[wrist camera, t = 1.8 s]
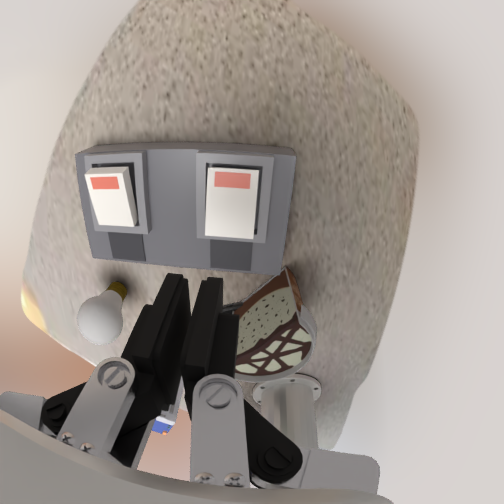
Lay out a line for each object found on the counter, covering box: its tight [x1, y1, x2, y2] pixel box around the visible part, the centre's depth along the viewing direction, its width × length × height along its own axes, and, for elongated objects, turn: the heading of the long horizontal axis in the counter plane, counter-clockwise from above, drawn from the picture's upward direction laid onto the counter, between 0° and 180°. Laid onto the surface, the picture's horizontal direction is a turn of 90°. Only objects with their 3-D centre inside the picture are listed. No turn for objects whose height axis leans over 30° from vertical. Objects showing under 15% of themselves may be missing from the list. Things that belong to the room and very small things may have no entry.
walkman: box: [152, 376, 184, 435], centre depth 39 cm, size 8×3×12 cm, turn 154°
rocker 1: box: [84, 167, 138, 227], centre depth 23 cm, size 6×4×1 cm
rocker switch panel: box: [75, 142, 297, 275], centre depth 26 cm, size 12×21×5 cm, turn 86°
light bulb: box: [77, 282, 127, 345], centre depth 31 cm, size 6×6×10 cm
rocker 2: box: [205, 167, 259, 239], centre depth 23 cm, size 6×4×1 cm
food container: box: [232, 266, 317, 382], centre depth 31 cm, size 12×6×10 cm, turn 137°
